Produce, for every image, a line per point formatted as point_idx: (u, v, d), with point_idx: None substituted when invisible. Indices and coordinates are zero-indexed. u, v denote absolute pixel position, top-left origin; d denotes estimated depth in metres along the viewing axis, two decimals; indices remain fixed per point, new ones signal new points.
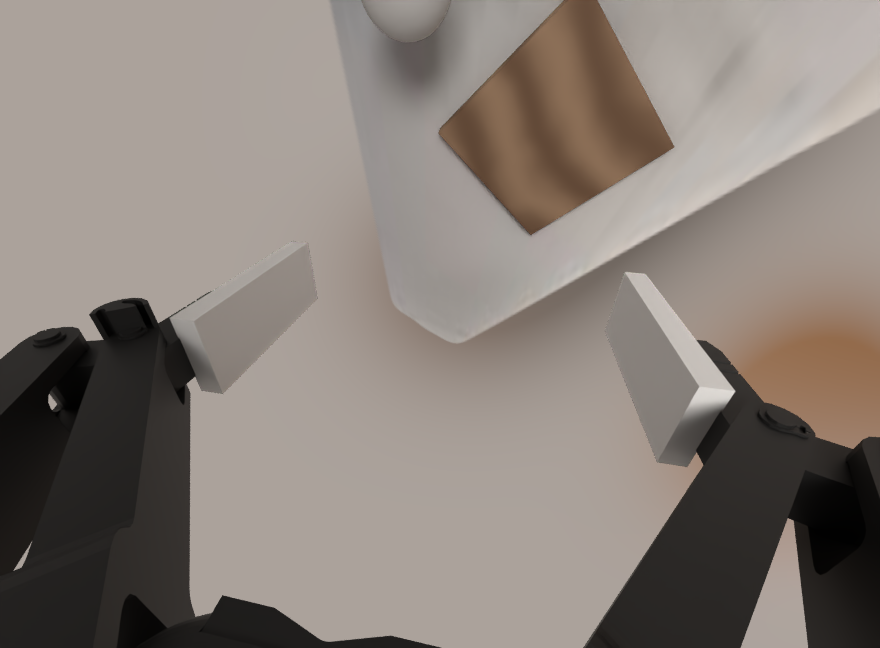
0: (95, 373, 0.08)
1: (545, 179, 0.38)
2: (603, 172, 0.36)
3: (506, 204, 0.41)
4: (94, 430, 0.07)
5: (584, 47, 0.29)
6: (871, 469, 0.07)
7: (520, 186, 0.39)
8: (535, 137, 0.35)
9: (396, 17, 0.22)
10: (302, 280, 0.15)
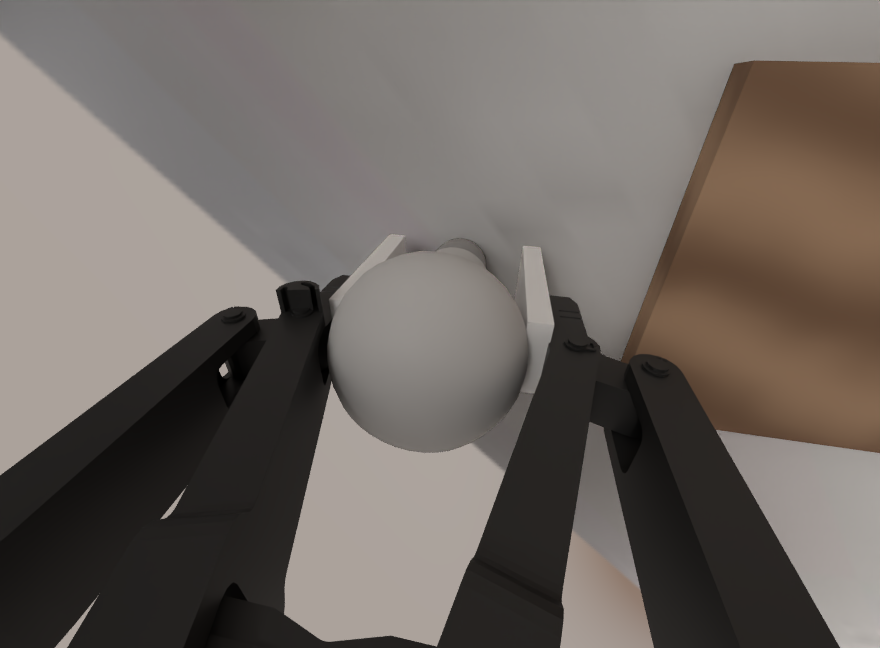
0: (267, 342, 0.09)
1: None
2: None
3: (831, 441, 0.18)
4: (252, 398, 0.08)
5: (835, 139, 0.12)
6: (637, 381, 0.08)
7: (845, 404, 0.17)
8: (821, 323, 0.15)
9: (437, 444, 0.09)
10: None
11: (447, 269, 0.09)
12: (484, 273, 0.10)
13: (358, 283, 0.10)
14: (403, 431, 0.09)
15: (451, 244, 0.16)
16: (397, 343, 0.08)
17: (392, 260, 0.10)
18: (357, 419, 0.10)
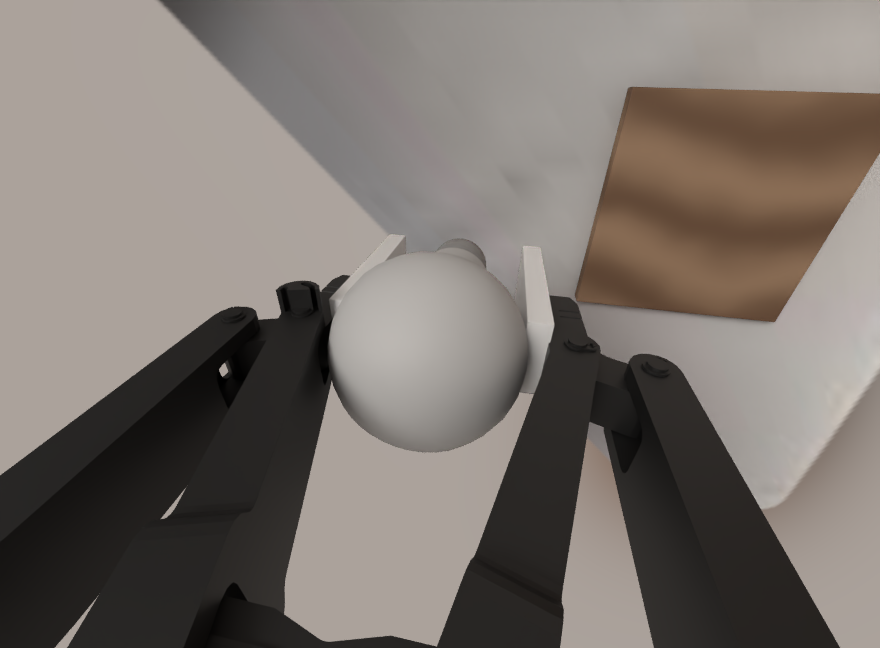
0: (267, 342, 0.09)
1: (740, 256, 0.28)
2: (822, 195, 0.25)
3: (708, 311, 0.30)
4: (252, 398, 0.08)
5: (677, 125, 0.24)
6: (637, 381, 0.08)
7: (711, 284, 0.29)
8: (689, 230, 0.27)
9: (437, 443, 0.09)
10: None
11: (447, 269, 0.09)
12: (484, 273, 0.10)
13: (358, 283, 0.10)
14: (403, 431, 0.09)
15: (451, 244, 0.16)
16: (397, 344, 0.08)
17: (392, 260, 0.10)
18: (357, 419, 0.10)
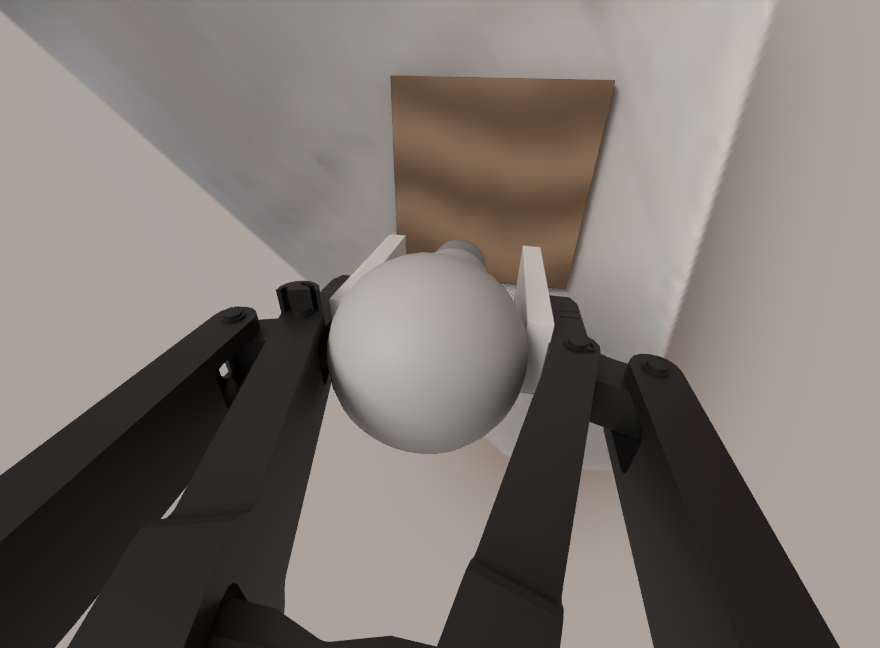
0: (267, 342, 0.09)
1: (520, 228, 0.31)
2: (569, 171, 0.28)
3: (509, 280, 0.34)
4: (252, 398, 0.08)
5: (435, 109, 0.27)
6: (637, 381, 0.08)
7: (504, 254, 0.32)
8: (472, 205, 0.30)
9: (437, 445, 0.09)
10: None
11: (446, 271, 0.09)
12: (483, 275, 0.10)
13: (358, 285, 0.10)
14: (402, 433, 0.09)
15: (451, 245, 0.16)
16: (397, 345, 0.08)
17: (392, 262, 0.10)
18: (357, 421, 0.10)
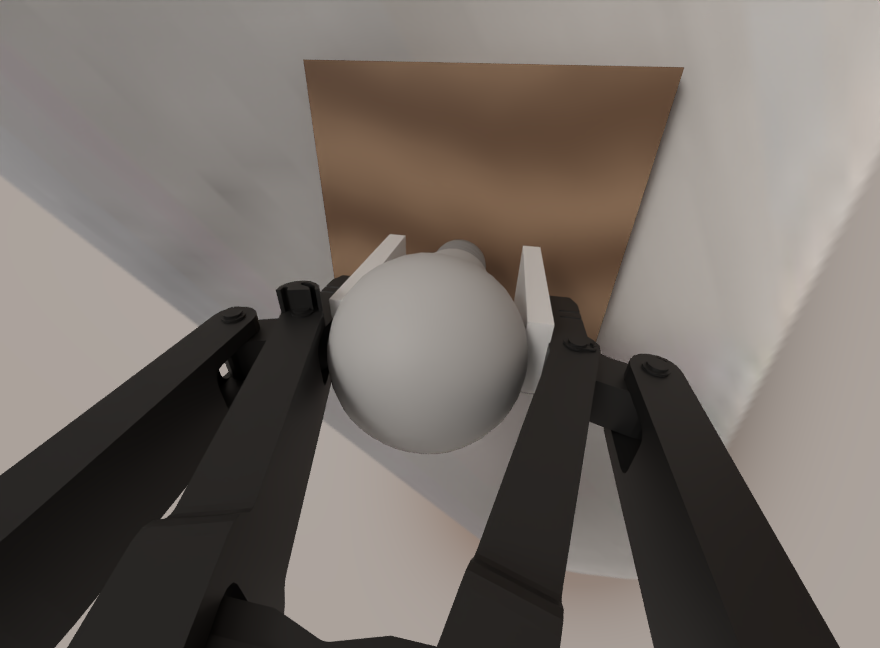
0: (267, 343, 0.09)
1: None
2: (596, 216, 0.17)
3: None
4: (252, 398, 0.08)
5: (380, 116, 0.17)
6: (637, 381, 0.08)
7: None
8: None
9: (437, 445, 0.09)
10: None
11: (447, 271, 0.09)
12: (484, 275, 0.10)
13: (358, 285, 0.10)
14: (403, 433, 0.09)
15: (451, 245, 0.16)
16: (397, 345, 0.08)
17: (392, 262, 0.10)
18: (357, 421, 0.10)
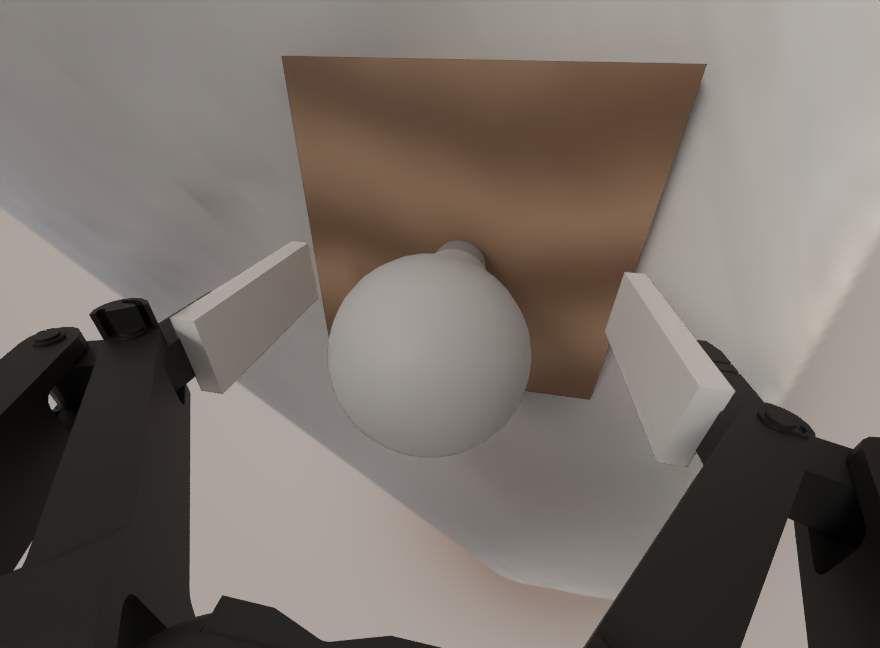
0: (95, 374, 0.08)
1: None
2: (605, 228, 0.16)
3: None
4: (94, 430, 0.07)
5: (367, 118, 0.15)
6: (870, 469, 0.07)
7: None
8: None
9: (440, 449, 0.09)
10: (302, 280, 0.15)
11: (449, 272, 0.09)
12: (486, 276, 0.10)
13: (359, 286, 0.10)
14: (405, 437, 0.09)
15: (451, 246, 0.16)
16: (400, 348, 0.08)
17: (393, 263, 0.10)
18: (359, 424, 0.09)
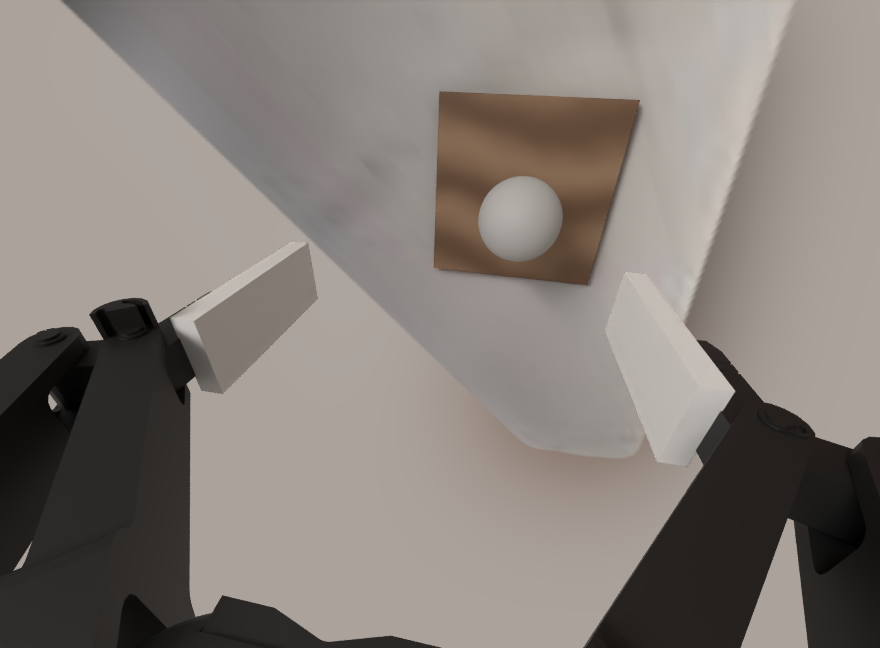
0: (95, 374, 0.08)
1: None
2: (595, 179, 0.31)
3: (536, 276, 0.37)
4: (94, 430, 0.07)
5: (478, 122, 0.31)
6: (871, 469, 0.07)
7: None
8: None
9: (530, 245, 0.25)
10: (302, 280, 0.15)
11: (534, 179, 0.25)
12: (546, 183, 0.25)
13: (497, 186, 0.25)
14: (519, 237, 0.24)
15: None
16: (520, 201, 0.24)
17: (510, 178, 0.25)
18: (498, 238, 0.25)
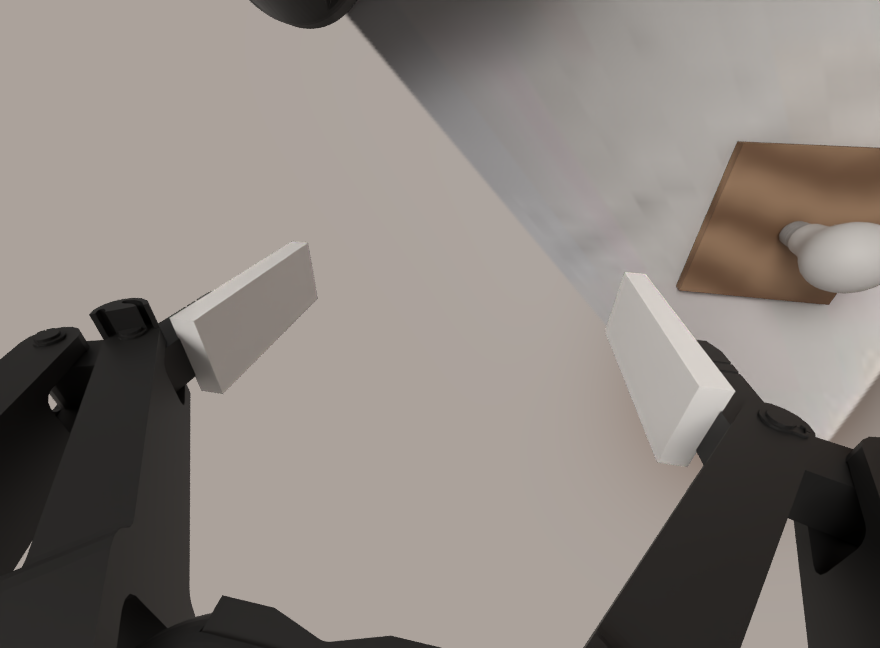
0: (95, 373, 0.08)
1: None
2: (869, 215, 0.36)
3: (780, 297, 0.41)
4: (94, 430, 0.07)
5: (772, 168, 0.35)
6: (871, 469, 0.07)
7: (784, 277, 0.40)
8: (772, 239, 0.38)
9: (878, 282, 0.29)
10: (302, 280, 0.15)
11: None
12: None
13: (843, 232, 0.30)
14: (873, 276, 0.29)
15: (803, 223, 0.36)
16: None
17: (854, 224, 0.30)
18: (847, 275, 0.29)
